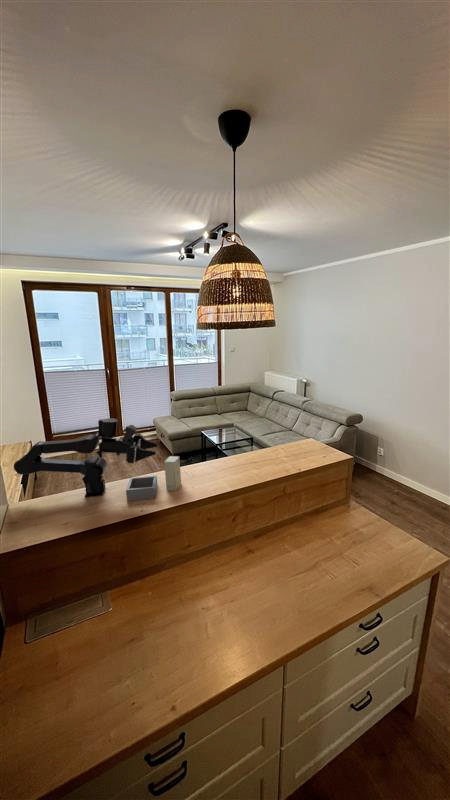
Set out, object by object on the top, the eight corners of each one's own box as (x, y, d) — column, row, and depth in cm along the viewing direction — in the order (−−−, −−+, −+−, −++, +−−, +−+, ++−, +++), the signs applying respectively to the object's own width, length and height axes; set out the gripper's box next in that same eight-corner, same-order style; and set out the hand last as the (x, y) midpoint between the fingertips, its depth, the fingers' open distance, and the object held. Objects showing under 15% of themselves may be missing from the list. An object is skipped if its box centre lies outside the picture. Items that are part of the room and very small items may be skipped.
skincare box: (176, 491, 127) (174, 462, 124) (165, 490, 128) (163, 461, 125) (181, 483, 133) (179, 456, 130) (171, 482, 134) (169, 455, 131)
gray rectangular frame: (127, 501, 120) (125, 490, 119) (131, 488, 131) (130, 477, 130) (155, 498, 122) (154, 487, 121) (157, 485, 132) (156, 475, 131)
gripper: (112, 433, 114) (156, 436, 117) (121, 419, 132) (160, 423, 135) (110, 462, 116) (153, 465, 119) (119, 445, 134) (157, 448, 137)
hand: (156, 449), depth 127 cm, fingers open, 9 cm apart
